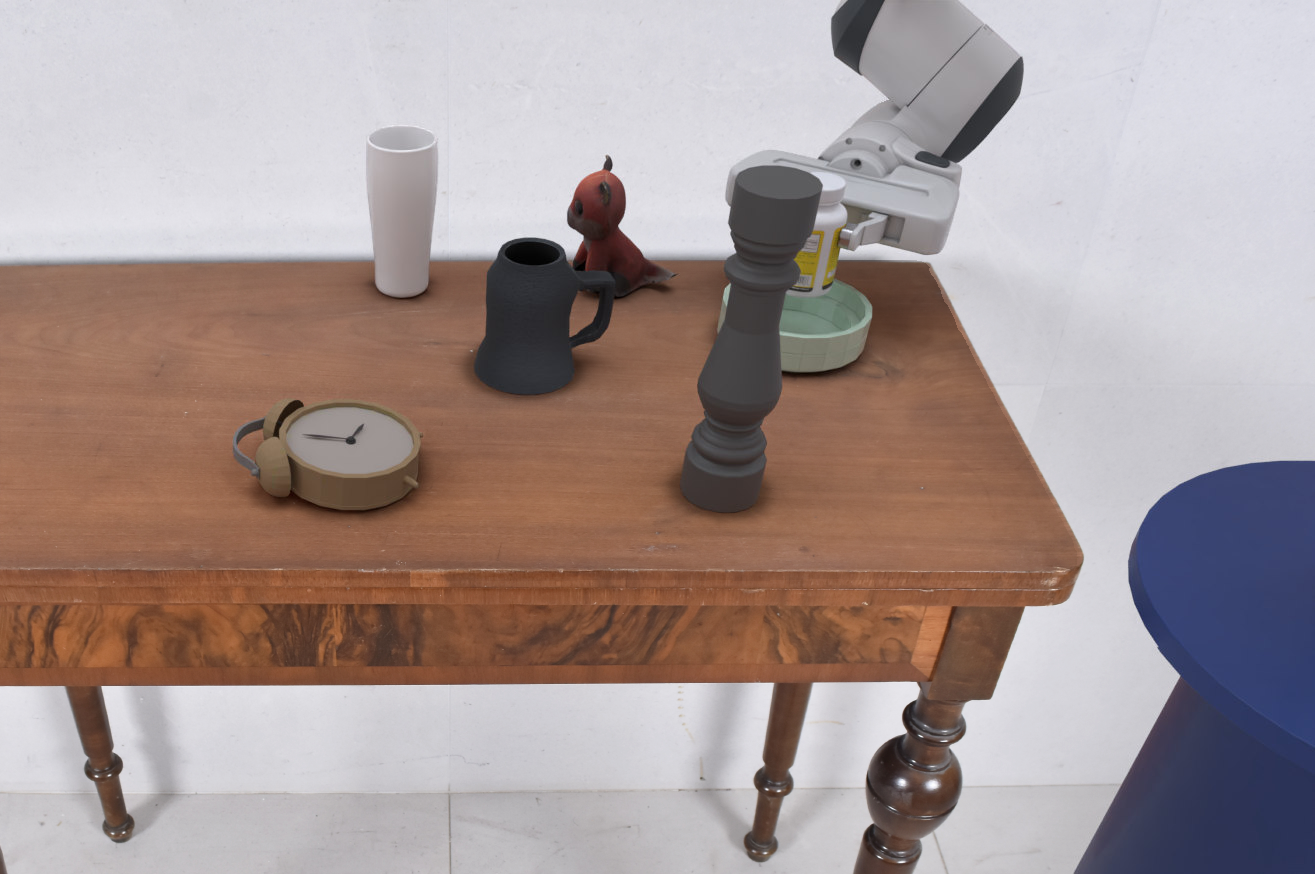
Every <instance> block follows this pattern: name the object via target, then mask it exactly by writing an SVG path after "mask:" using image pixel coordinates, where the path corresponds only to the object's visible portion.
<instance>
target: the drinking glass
mask: <svg viewBox="0 0 1315 874" xmlns="http://www.w3.org/2000/svg"><path fill="white" fill-rule="evenodd" d="M365 182H366V194H367V204H368V212H369V223H370V232H371V240H372V241H371V242H372V250H373V251H372V252H373V253H372V254H373V262H374V263H373V264H374V284H375V286H376V288H377V290H378V291H379V292H380V293H382V294H383V295H385V296H389V297H392V298H400V299H401V298H402V299H403V298H412V297H416V296H418V295H420V294H422V293H424V292H425V291H426V290H427V288H428V287H429V283H430V263H431V251H432V241H433V234H434V233H433V232H434V223H435V212H436V203H437V194H438V193H437V192H438V182H439V138H438V136H437V134H436V133H435V132H434V131H432V130H431V129H428V128H426V127H422V126H418V125H409V124H395V125H393V124H392V125H386V126H382V127H379V128H376V129H374V130H372V131H370V132H369V133H368V135H367V136H366V139H365Z"/></svg>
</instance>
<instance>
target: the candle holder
mask: <svg viewBox="0 0 1315 874" xmlns="http://www.w3.org/2000/svg"><path fill="white" fill-rule="evenodd" d="M822 188H823V184H822V183H821V181H820V179H819V178H817V177H816V176H814V175H812V174H811V173H809V172H806V171H803V170H800V169H797V168H792V167H785V166H779V165H762V166H756V167H750V168H747V169H745V170H743V171H741V172H739V173H738V175H737V177H736V179H735V185H734V190H733V196H732V202H731V207H729V214H728V220H727V224H728V227H729V230H730V233H729V235H730V237H731V240H732V242H733V248H734V249H735V252H734V253H733V254H731V255H729V256H728V257H727V258H726V261H724V264H723V272H724V274H725V278H726V279H727V280H728V281H729V284H731V286H730V292H729V297H728V303H727V309H726V314H725V320H724V322H723V324H722V327H721V329H720V331H719V333H718V332H717V336H716V337H715V340H714V343H713V344H712V346H711V349H710V351H709V354H708V356H707V357H706V360H705V362H704V364H703V367H702V369H701V371H700V374H699V376H698V379H697V384H696V388H697V389H696V390H697V394H698V397H699V401H700V404H701V406H702V408H703V409H704V410H703V415H704V418H703V419H702V420H701V421H700V422H699V423H697V424H696V425H695V427H694V429H693V431H692V433H691V436H690V438H691V440H690V441H689V443H688V445H687V446H686V449H685V452H684V456H683V457H684V458H683V464H682V470H681V474H680V475H681V476H680V481H679V487H680V491H681V494H682V496H683V497H685V499H686V500H687V501H688V502H689V503H691V504H693V505H695V506H697V507H698V508H701V509H703V510H707V511H711V512H715V513H737V512H742V511H745V510H748V509H749V508H751V507H753V506H754V505H755V504H756V503H757V502H758V499H759V497H760V493H761V489H762V484H763V481H764V476H765V471H766V466H767V461H768V458H767V456H766V453H765V451H766V448H767V446H768V440H767V437H766V434H765V432H764V431H763V430H762V427H761V426H762V425H763V422H764V420H765V418H766V417H768V416H769V415H770V414H771V413H772V412H773V411H774V410H775V408H776V406H777V404H778V402H779V401H780V398H781V395H782V392H783V374H782V372H783V371H781V350H780V328H779V324H780V319H781V315H782V310H783V305H784V300H785V296H786V291H788V290H789V288H790V287H792V286H793V285H795V284H796V283H797V281H798V278H799V276H800V273H801V270H800V268H799V266H798V264H797V262H796V261H795V260H793V259H795V258H796V256H797V254H798V252H799V251H800V250H802V249H803V248H804V246H805V244H806V241H807V238H809V237H811V234H812V232H813V229H814V225H815V220H816V216H817V211H818V206H819V202H820V197H821V193H822Z"/></svg>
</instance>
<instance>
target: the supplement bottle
mask: <svg viewBox="0 0 1315 874" xmlns="http://www.w3.org/2000/svg"><path fill="white" fill-rule="evenodd" d="M810 173H811V174H812V175H814V176H816V177H817V178H819V179H820V181H821V183H822V184H823V188H822V193H821V197H820V202H819V206H818V211H817V216H816V220H815V225H814V229H813V232H812V234H811V237H809V238H807V241H806V244H805V246H804V248H803V249H802V250H800V251H799V252H798V254H797V256H796V258H795V259H793V260H795V261H796V262H797V264H798V266H799V268H800V270H801V273H800V276H799V278H798V281H797V283H796V284H795V285H793V286H792V287H790V288H789V290H788V291H786V295H789V296H792V297H797V298H814V297H819V296H822V295H824V294H826V293H828V292H829V291H830V289H831V287H832V284H833V280H834V278H835V275H836V270H837V266H838V261H839V257H840V252H841V248H839V247H837V245H838V241H839V240H840V237H839V236H840V232H841V230H842V228H843V227H845V225H846V221H847V211H846V209H845V207H844V206H843V205H842V204H841V203H839V202H841V201H842V199H843V197H844V192H845V187H846V182H845V180H844V179H843V178H841V177H840V176H837V175H834V174H831V173H825V172H810Z"/></svg>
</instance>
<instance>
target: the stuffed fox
mask: <svg viewBox="0 0 1315 874" xmlns="http://www.w3.org/2000/svg"><path fill="white" fill-rule="evenodd" d="M613 166H614V163H613V160H612V158H611V156H610V155H609V154H606V155H605V161H604V163H603V167H602V169H601V170H598V171H595V172H592V173H590V174H588V175H587V176H585V177H584V178H583V179H581V181H579V183H578V184H577V186H576V188H575V190H574V192H573V197H572V200H571V202H570V204H569V206H568V207H567V211H566V222H567V225H568V227H569V228H571V229H572V230H574V231H576V232H577V233H579V234H580V235H582V236H583V239H582V241H581V243H580V244H579V246H578V249H577V251H576V254H575V256H574V257H573V260H572V267H573V269H574V270H575V271H593V270H594V271H606V272H609V273H610V274H611V276H612V277H613V279H614V280H615V294H614V297H624V296H626V295H629V294H631V292H633V291H635V290H637V289H639V288H641V287H644V286H646V285H648V284H652V283H653V284H659V283H662V282H668V281H669V280H670V279H673V278H674V277H676V276H677V275H679V273H675V272H673V271H671V270H669V269H667V268H665V267H663V266H661V265H659V264H657V263H655V262H653V261H651V260H649V259H647V258H646V257H645V256H644V254H643V252H642V251H641V249H640V248H639V247H638V246H637V245H636V244H635V243H634V242H633V240H631V239H630V238H629V237H628V235H626V234H625V233H624V232H623V231H622V230H621V229H620V227H619V226H620V224H621V222H622V220H623V219H624V216H625V213H626V208H627V196H626V195H627V194H626V189H625V186H624V183H623V182H622V180H620V178H619V177H618V176H617V175H616V174H614V173H612V172H611V171H612V170H613ZM587 291H588V292H589V293H595V294H596V295H600V287H599V288H595V289H587Z"/></svg>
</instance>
